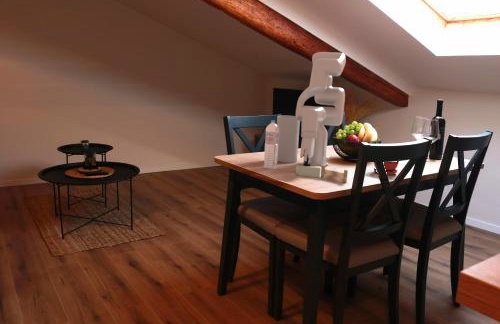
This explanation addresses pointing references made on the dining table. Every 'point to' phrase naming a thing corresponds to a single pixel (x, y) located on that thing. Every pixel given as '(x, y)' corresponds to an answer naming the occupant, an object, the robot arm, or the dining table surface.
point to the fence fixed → (334, 175)
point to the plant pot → (390, 167)
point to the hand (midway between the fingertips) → (306, 171)
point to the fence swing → (308, 171)
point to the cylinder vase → (288, 138)
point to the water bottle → (271, 146)
